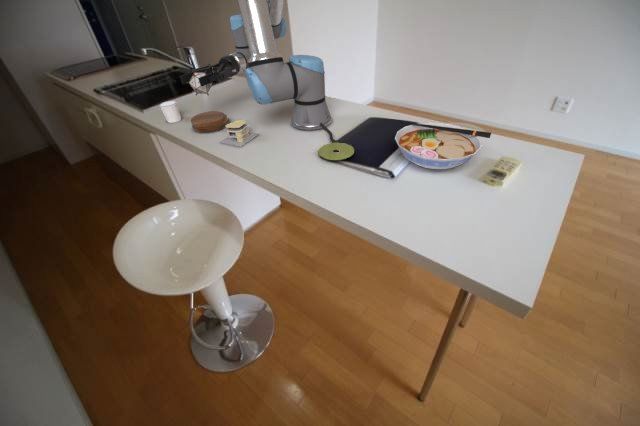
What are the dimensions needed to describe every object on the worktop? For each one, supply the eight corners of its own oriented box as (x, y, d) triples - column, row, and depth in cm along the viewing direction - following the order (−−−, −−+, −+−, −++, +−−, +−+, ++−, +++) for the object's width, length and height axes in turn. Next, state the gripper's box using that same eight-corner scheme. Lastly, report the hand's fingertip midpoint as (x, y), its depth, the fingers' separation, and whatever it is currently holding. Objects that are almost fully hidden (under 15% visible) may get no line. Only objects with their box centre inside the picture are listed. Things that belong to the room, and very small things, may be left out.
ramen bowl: (376, 170, 83) (379, 144, 78) (403, 138, 97) (406, 114, 92) (469, 193, 72) (479, 165, 67) (484, 153, 87) (493, 127, 81)
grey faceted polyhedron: (207, 105, 110) (191, 89, 100) (193, 94, 112) (176, 77, 102) (223, 89, 110) (209, 71, 101) (209, 77, 112) (194, 59, 103)
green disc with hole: (352, 166, 86) (352, 160, 84) (315, 164, 87) (315, 159, 86) (355, 148, 94) (355, 142, 93) (321, 147, 96) (321, 141, 94)
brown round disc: (233, 127, 113) (230, 118, 111) (197, 136, 108) (193, 127, 106) (223, 115, 123) (221, 107, 120) (190, 123, 118) (187, 115, 115)
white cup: (186, 117, 123) (180, 101, 119) (174, 124, 119) (167, 107, 114) (174, 116, 126) (168, 99, 121) (162, 122, 121) (155, 105, 116)
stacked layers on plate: (239, 131, 109) (235, 117, 106) (258, 135, 106) (255, 120, 102) (221, 142, 103) (216, 128, 99) (240, 146, 99) (236, 131, 96)
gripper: (255, 76, 115) (216, 95, 100) (215, 73, 123) (173, 89, 108) (251, 55, 110) (210, 71, 95) (210, 53, 118) (165, 67, 103)
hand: (190, 81), depth 102 cm, fingers closed on grey faceted polyhedron, 8 cm apart
